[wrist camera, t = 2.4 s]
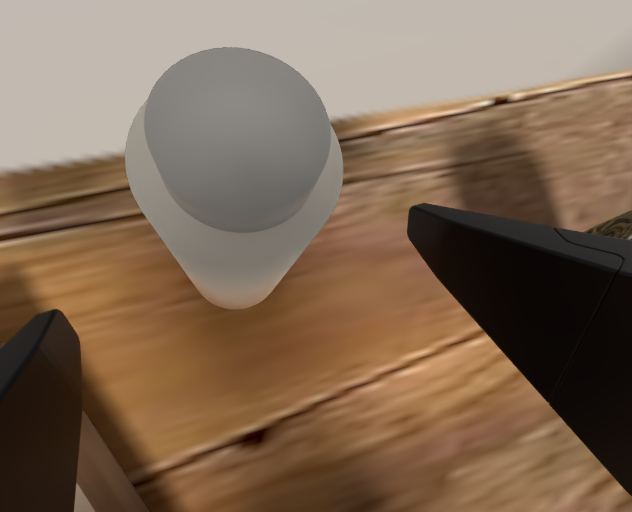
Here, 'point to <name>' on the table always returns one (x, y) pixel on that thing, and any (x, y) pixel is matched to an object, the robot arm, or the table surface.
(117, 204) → the table surface
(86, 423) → the socket block
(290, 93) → the plug
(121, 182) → the table surface
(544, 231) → the robot arm
